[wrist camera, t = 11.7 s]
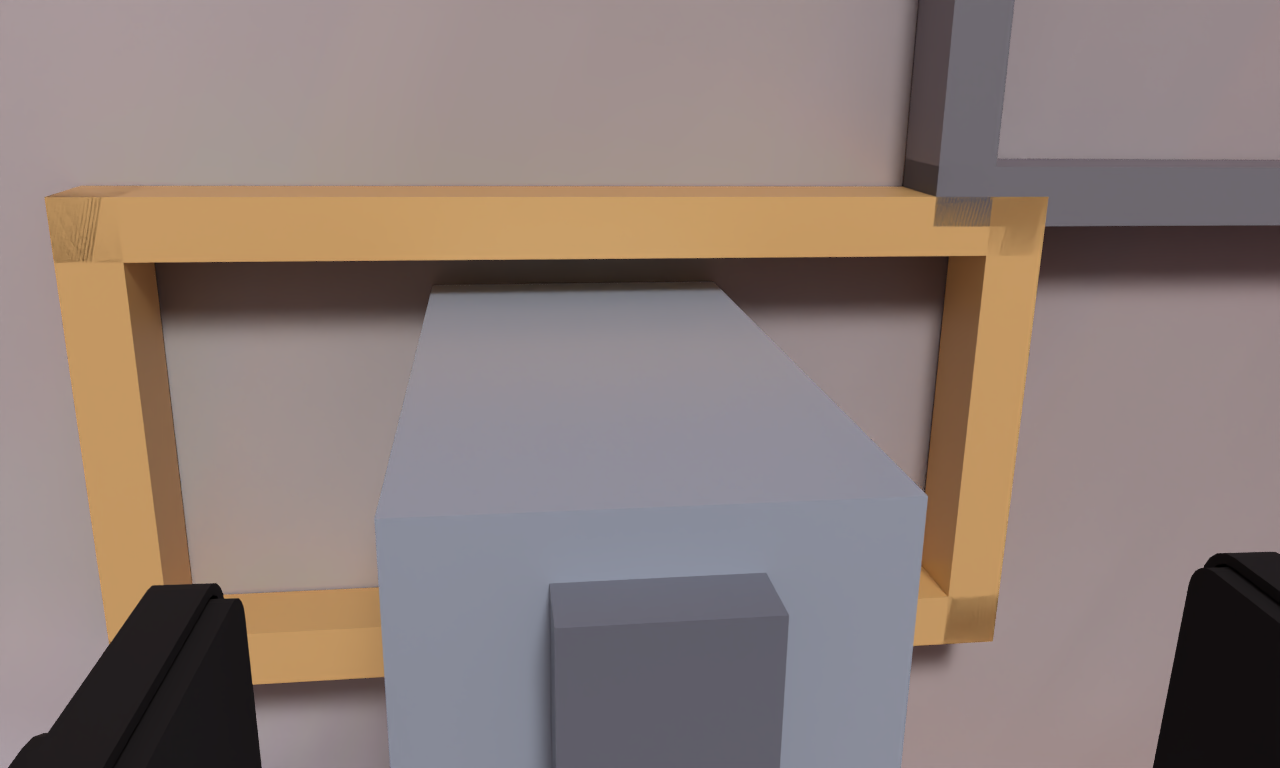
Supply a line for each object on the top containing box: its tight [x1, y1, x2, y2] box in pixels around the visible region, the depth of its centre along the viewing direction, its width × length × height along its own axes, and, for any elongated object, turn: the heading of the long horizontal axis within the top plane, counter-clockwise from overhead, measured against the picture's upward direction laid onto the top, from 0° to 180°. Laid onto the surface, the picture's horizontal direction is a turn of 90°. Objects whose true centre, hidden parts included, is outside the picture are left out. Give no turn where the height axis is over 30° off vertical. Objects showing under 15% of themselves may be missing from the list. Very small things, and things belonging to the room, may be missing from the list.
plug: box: [375, 281, 928, 768], centre depth 15 cm, size 5×5×11 cm
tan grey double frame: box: [45, 0, 1280, 685], centre depth 19 cm, size 30×16×2 cm, turn 89°
